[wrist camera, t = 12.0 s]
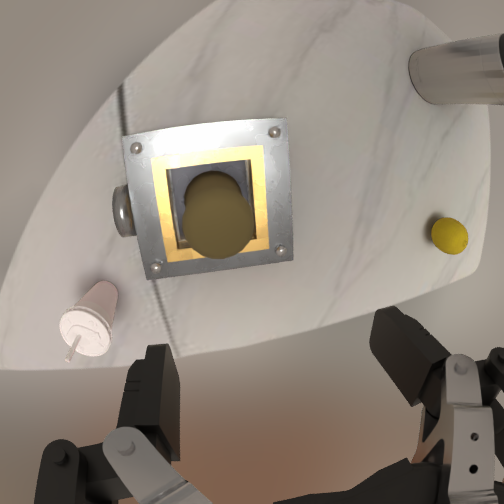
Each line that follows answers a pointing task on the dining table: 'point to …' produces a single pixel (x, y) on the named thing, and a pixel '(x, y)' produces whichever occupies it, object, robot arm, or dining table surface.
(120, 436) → the robot arm
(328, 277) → the dining table surface
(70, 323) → the smoothie
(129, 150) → the square socket fixture
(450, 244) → the lemon
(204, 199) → the olive pestle shaped cylinder
